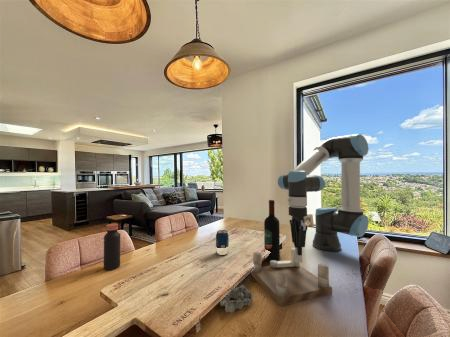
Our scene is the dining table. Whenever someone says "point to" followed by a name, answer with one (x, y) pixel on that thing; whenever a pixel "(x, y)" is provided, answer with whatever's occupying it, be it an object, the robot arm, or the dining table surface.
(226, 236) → the soda can
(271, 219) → the wine bottle
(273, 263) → the hinged leg
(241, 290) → the egg carton
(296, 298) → the stool seat
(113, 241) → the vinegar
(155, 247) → the dining table surface
